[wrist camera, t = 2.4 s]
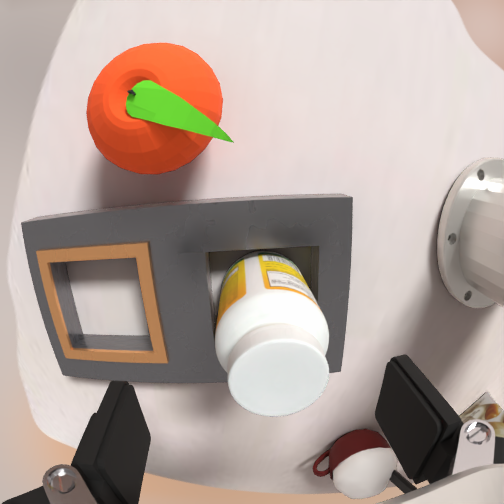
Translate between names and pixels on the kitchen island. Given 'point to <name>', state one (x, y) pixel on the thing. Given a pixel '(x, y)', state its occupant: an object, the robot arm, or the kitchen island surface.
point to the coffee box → (486, 413)
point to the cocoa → (362, 465)
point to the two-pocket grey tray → (182, 277)
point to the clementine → (155, 108)
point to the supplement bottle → (271, 336)
